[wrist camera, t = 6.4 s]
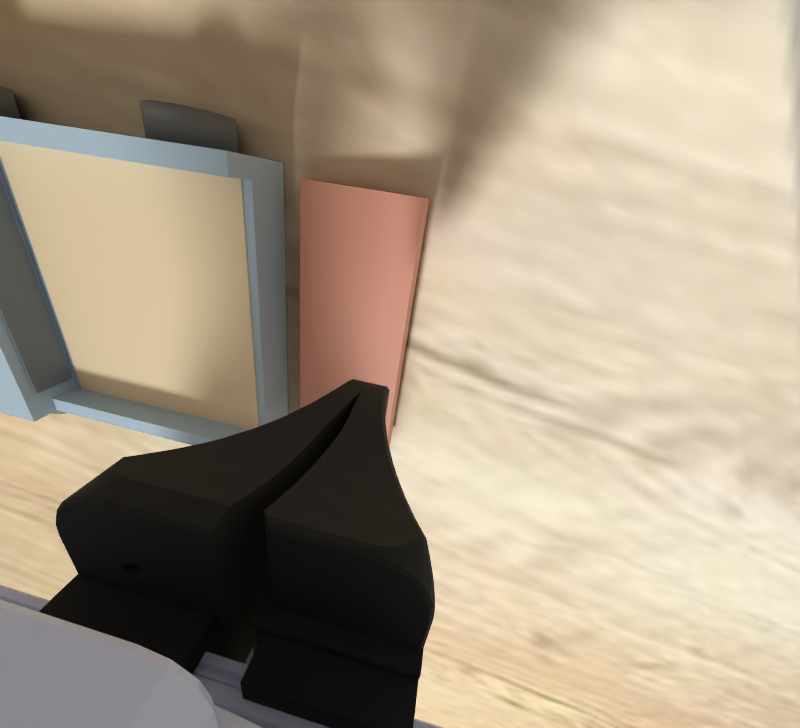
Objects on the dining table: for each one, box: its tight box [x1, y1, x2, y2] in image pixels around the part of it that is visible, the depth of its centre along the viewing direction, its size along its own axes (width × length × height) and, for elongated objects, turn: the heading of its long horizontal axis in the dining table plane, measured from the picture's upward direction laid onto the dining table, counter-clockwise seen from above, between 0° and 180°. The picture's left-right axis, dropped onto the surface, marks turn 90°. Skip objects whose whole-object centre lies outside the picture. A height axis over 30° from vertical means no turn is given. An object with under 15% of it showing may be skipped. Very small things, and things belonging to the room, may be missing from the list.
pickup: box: [0, 87, 288, 445], centre depth 17 cm, size 16×17×5 cm
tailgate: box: [300, 178, 429, 444], centre depth 17 cm, size 13×1×6 cm
